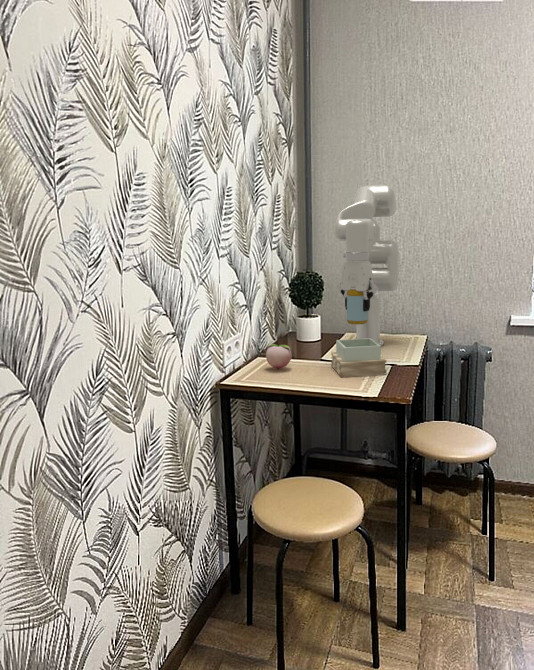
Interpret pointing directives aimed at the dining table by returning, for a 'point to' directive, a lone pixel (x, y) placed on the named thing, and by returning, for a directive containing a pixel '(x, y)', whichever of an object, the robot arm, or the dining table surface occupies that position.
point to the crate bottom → (358, 367)
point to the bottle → (355, 305)
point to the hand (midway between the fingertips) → (357, 309)
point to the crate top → (358, 350)
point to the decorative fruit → (278, 355)
